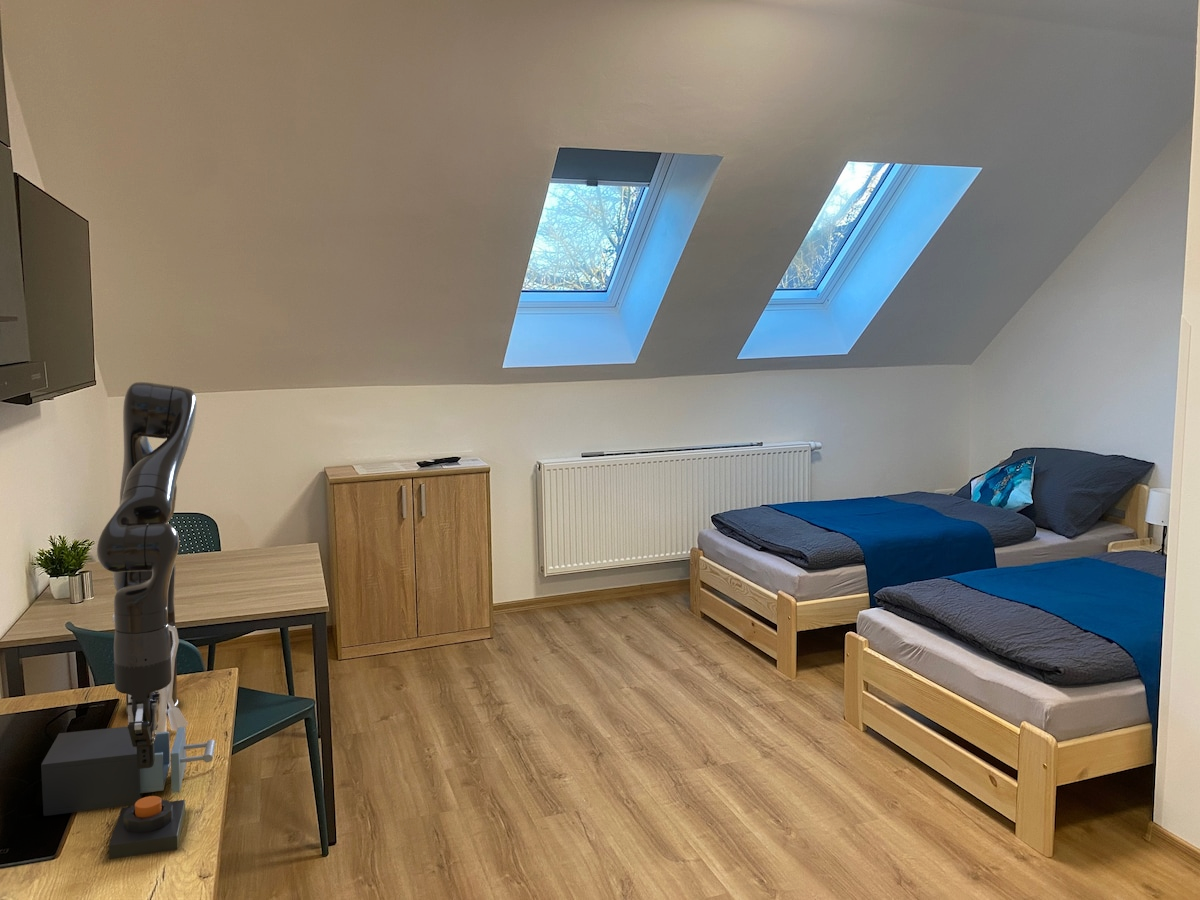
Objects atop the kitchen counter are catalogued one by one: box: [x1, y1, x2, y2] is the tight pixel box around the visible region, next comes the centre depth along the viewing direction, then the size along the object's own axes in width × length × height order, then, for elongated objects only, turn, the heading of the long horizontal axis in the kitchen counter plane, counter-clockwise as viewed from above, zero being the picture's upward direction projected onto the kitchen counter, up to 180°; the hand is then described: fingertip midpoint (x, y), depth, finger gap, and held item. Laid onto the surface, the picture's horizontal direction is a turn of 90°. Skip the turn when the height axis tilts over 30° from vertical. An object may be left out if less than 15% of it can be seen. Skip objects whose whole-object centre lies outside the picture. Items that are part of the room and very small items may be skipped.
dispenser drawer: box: [140, 727, 216, 794], centre depth 150 cm, size 17×10×7 cm, turn 109°
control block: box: [108, 799, 186, 860], centre depth 136 cm, size 11×9×4 cm
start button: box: [135, 795, 162, 818], centre depth 135 cm, size 4×4×2 cm
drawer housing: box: [40, 725, 144, 817], centre depth 147 cm, size 14×12×9 cm
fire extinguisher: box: [111, 613, 189, 733], centre depth 167 cm, size 7×12×25 cm, turn 111°
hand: (146, 765), depth 135 cm, fingers closed
